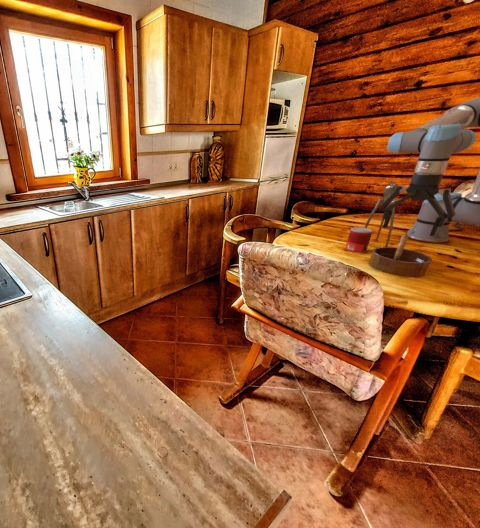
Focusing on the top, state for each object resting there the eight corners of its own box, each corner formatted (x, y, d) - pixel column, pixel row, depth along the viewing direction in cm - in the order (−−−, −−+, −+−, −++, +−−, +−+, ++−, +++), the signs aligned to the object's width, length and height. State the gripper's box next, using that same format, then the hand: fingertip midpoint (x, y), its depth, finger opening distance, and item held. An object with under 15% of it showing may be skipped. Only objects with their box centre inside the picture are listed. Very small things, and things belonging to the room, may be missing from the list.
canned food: (366, 255, 128) (374, 232, 124) (345, 252, 132) (351, 230, 128) (364, 249, 134) (371, 228, 130) (344, 247, 138) (350, 226, 134)
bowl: (377, 257, 126) (382, 244, 123) (431, 270, 112) (438, 255, 109) (360, 267, 117) (365, 253, 115) (416, 282, 103) (423, 267, 101)
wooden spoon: (387, 266, 115) (400, 232, 109) (401, 269, 112) (415, 234, 106) (383, 269, 113) (396, 234, 107) (397, 272, 110) (411, 236, 104)
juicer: (376, 240, 145) (396, 181, 133) (387, 247, 135) (408, 184, 123) (354, 239, 148) (371, 181, 136) (363, 246, 138) (381, 185, 126)
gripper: (379, 172, 105) (363, 226, 114) (479, 176, 86) (451, 241, 94) (387, 170, 109) (371, 222, 118) (485, 174, 89) (457, 236, 98)
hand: (407, 231), depth 106 cm, fingers open, 13 cm apart
